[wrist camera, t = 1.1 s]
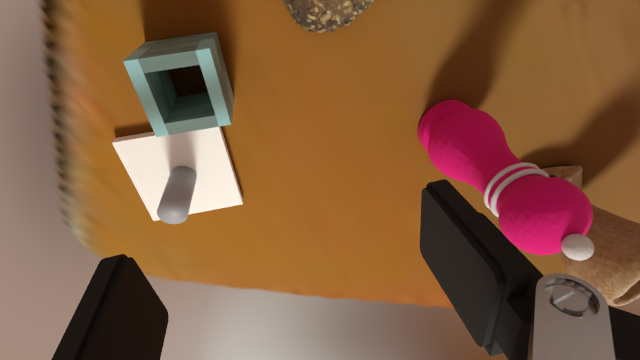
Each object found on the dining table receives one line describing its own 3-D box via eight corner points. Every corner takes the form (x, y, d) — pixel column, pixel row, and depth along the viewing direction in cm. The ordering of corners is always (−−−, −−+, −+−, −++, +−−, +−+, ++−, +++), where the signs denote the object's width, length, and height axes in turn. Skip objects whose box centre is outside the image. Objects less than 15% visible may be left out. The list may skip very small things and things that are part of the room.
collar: (145, 42, 28) (123, 61, 23) (216, 31, 29) (209, 48, 24) (170, 108, 32) (156, 137, 27) (234, 98, 32) (231, 124, 27)
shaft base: (115, 137, 32) (86, 177, 27) (219, 120, 33) (212, 155, 27) (155, 215, 38) (138, 261, 32) (242, 198, 39) (241, 241, 33)
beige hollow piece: (578, 219, 52) (678, 302, 40) (505, 247, 53) (581, 336, 41) (591, 141, 43) (725, 216, 31) (503, 175, 44) (599, 262, 32)
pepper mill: (413, 159, 40) (525, 303, 24) (412, 103, 36) (547, 231, 19) (471, 144, 40) (621, 277, 24) (476, 87, 36) (663, 200, 20)
